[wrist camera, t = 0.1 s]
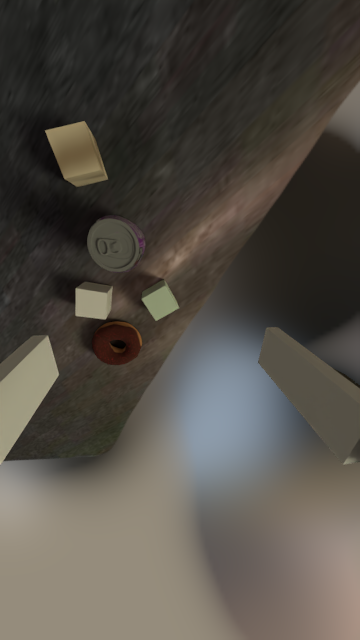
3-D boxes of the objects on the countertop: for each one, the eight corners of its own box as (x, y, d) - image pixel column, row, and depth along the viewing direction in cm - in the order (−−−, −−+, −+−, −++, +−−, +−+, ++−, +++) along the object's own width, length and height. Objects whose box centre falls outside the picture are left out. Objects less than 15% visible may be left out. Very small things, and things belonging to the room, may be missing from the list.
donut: (150, 331, 42) (150, 340, 39) (130, 363, 45) (128, 375, 42) (106, 310, 39) (101, 318, 36) (87, 347, 42) (82, 358, 38)
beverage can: (108, 263, 35) (90, 277, 25) (100, 220, 32) (75, 214, 22) (147, 261, 36) (146, 273, 25) (143, 219, 33) (139, 212, 22)
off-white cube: (85, 281, 36) (75, 288, 32) (112, 286, 37) (107, 293, 33) (84, 306, 38) (75, 315, 34) (110, 309, 39) (105, 319, 35)
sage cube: (142, 291, 38) (141, 299, 34) (163, 279, 38) (165, 285, 34) (155, 311, 41) (155, 320, 36) (175, 299, 40) (179, 308, 36)
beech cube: (61, 147, 28) (44, 130, 24) (95, 139, 28) (84, 121, 24) (77, 187, 30) (64, 178, 26) (108, 179, 30) (100, 170, 26)
